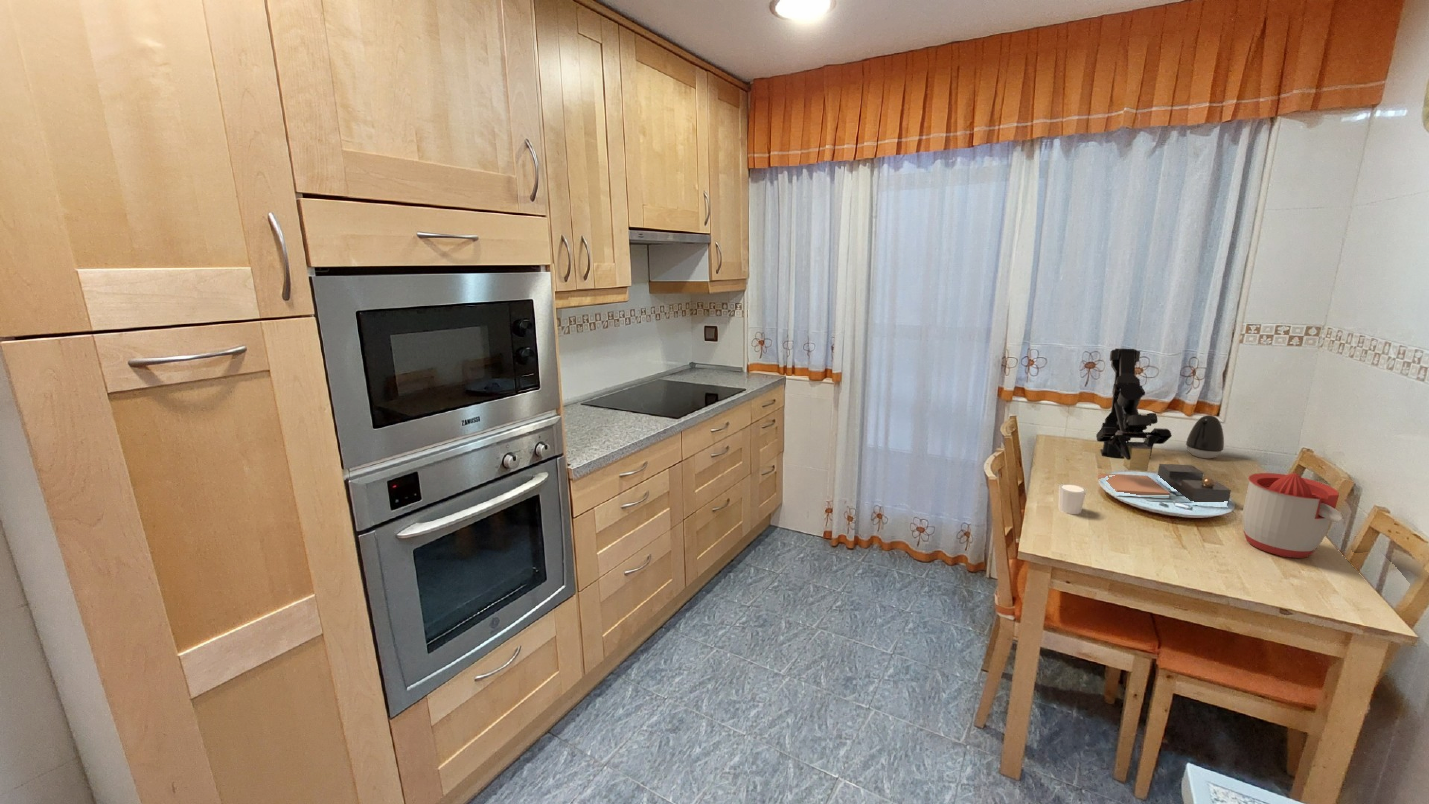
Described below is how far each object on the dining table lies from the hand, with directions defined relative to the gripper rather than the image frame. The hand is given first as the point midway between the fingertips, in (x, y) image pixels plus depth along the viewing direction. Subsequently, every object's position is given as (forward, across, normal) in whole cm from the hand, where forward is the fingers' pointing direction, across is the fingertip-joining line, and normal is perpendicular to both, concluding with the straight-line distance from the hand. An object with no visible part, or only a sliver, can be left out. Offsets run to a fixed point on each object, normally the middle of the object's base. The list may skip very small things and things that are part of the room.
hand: (1138, 459), depth 174 cm
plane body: (+7, +15, +7) cm, 18 cm away
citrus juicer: (+31, +19, -17) cm, 40 cm away
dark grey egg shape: (-18, +36, +33) cm, 52 cm away
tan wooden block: (+1, 0, +3) cm, 4 cm away
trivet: (+6, 0, +8) cm, 10 cm away
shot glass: (+20, -24, -6) cm, 32 cm away
